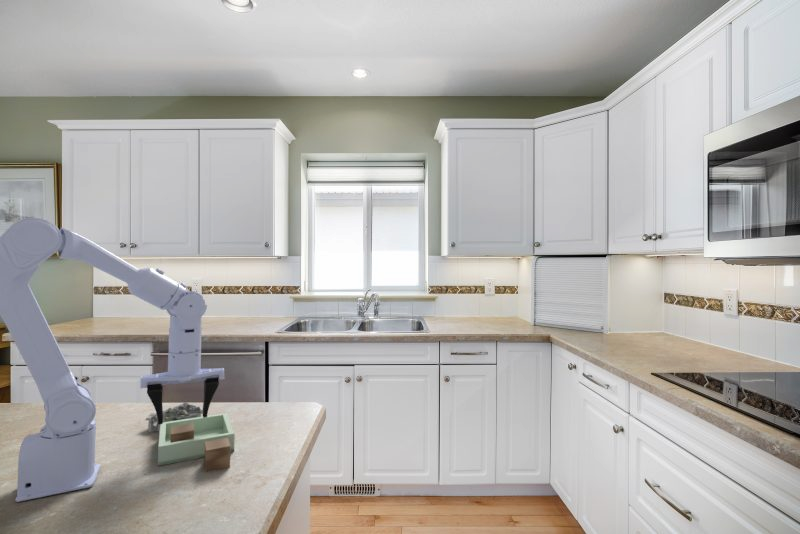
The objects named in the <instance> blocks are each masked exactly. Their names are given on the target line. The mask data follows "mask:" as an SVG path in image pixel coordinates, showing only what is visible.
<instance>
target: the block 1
mask: <svg viewBox="0 0 800 534" xmlns="http://www.w3.org/2000/svg"><path fill="white" fill-rule="evenodd" d="M189 439H194V424H187V425H181V426H174V427H171V437H170V443H172V442H178V441H183V440H189Z"/></svg>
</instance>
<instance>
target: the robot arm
mask: <svg viewBox="0 0 800 534" xmlns="http://www.w3.org/2000/svg"><path fill="white" fill-rule="evenodd" d="M57 252H58V253H59V255H58V257H57V258H58V259H64V260H65V259H66V260H72V261H73V260H74V261H75V260H76V261H82V262H83V263H86V264H88V265H90V267H91V266H92V267H94V268H96V269H98V270H99V271H102V272H103V273H106V274H108V275H110V276H112V277H113V278H116V279H118V280H120V281H122V282H123V283H124V282H125V283H126V284H127V287H128V291H129V293H130V294H131V295H132V296H133V297H134V296H135V297H136V298H139V299H140V300H143V301H144V302H146V303H148V304H150V305H152V306H154V307H156V308H158V309H159V310H163V311H164V310H165V311H166V313H167V314H169V329H168V354H167V355H168V356H167V357H168V358H167V371H165V372H160V373H154V374H146V375H141V376H140V389H146V394H147V396H148V398H149V399H150V401H151V403H152V406H153V407H154V410H155V413H157V417H158V424H163V411H164V409H163V394H164V393H163V391H164V390H163V389H164V388H163V387H164V386H166V385H174V384H176V385H177V384H184V383H193V382H202V381H203V401H202V410H203V412H202V417H203V418H205V417H207V416H208V412H209V408H210V406H211V401H212V399H213V397H214V395H215V393H216V391H217V390H218V387H219V385H220V381H221V380H225V368H224V367H221V368H220V367H218V368H216V367H215V368H201V363H202V361H201V360H202V356H201V355H202V333H203V332H202V318H203V316H204V315H205V314H206V311H207V307H208V305H207V304H206V302H205V299H204V297H203V296H202V295H201V293H198V292H196V291H191V290H189V289H187V287H188V285H187V284H185V283H183V282H180V283H179V282H177V281H175V280H173V279H171V278H170V277H168V276H166V275H164V274H165V271H164V270H162V269H161V268H156V269H154V268H151V267H144V268H137V267H136V266H134V265H132V264H131V263H129V262H127V261H125V260H124V259H122V258H121V257H119V256H117V255H115V254H114V253H112V252H110V251H108V250H107V249H105V247H104V248H103V247H101V245H98V244H97V243H95V242H94V241H92V240H90V239H88V238H86V237H85V236H82V235H80V234H78V233H76V232H73V231H72V230H70V229H66V228H63V227H60V229H59V228H58V226H56V225H55V224H54V223H53V222H51V221H49V220H48V219H47V220H46V219H43V218H39V217H26V218H22V219H19V220H16V222H14V223H12V224H11V225H10V226H9V227H8V228H7V229H6V230H5V231H4V233H2V234H1V236H0V317H1V318H2V321H3V322H4V324H5V327H6V329H8V333H9V334H10V336H11V338H12V339H13V342H14V343H15V346H16V347H17V349H18V351H19V354H20V356H22V357H21V358H22V359H23V361H24V363H25V365H26V367H27V368H28V370H29V373H30V374H31V376H32V379H33V380H34V382H35V384H36V386H37V389H38V391H39V395H40V397H41V399H42V402H43V410H44V411H45V414H44V415H45V417H44V422H45V424H44V426H43V427H41V428H40V431H39V432H37V433H36V432H35V433H32V434H28V435H25V436H24V437H23V440H22V442H21V444H20V447H19V448H20V449H19V453H18V461H17V462H18V463H17V464H18V465H17V486H16V488H17V490H16V491H17V492H16V497H15V502H18V503H19V502H24V501H28V500H33V499H40V498H43V497H48V496H53V495H58V494H64V493H68V492H73V491H77V490H82V489H83V490H84V489H88V488H92V487H93V486H94V484H95V482H96V479H97V476H98V474H99V471H100V468H101V463H95V462H96V431H97V430H96V429H97V420H95V417H96V413H97V407H96V404H95V402H94V401H93V399H92V398H91V397H92V395H91V392H90V390H89V389H88V388H87V387H86V386H84V385H83V384H81V383H80V382H78V381H77V379H76V378H75V375H74V373H73V372H72V370H71V368H70V366H69V364H68V363H67V360H66V358H65V356H64V354H63V352H62V349H61V348H60V346H59V344H58V341H57V340H56V337H55V336H54V334H53V332H52V330H51V327H50V325H49V323H48V321H47V319H46V317H45V316H44V313H43V312H42V309H41V307H40V305H39V303H38V301H37V299H36V297H35V294H34V293H33V291H32V289H31V286H30V284H29V281H30V280H31V278H32V277H33V276H34V274H35V272H36V271H37V270H38V269H39V266H40V265H41V264H43V262H45V261H46V260H48V259H49V258H50V257H51V256H53V255H54V254H55V253H57ZM219 380H220V381H219Z"/></svg>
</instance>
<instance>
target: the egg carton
mask: <svg viewBox="0 0 800 534" xmlns="http://www.w3.org/2000/svg"><path fill="white" fill-rule="evenodd" d="M202 415H203V409H201V407H200V406H196V405H193V404H190V403H189V402H187V401H185V402H182V404H179V405H176V406H174V407H169V408H168V409H166V410H163V422H170V421H176V420H183V419H190V418H196V417H202ZM145 421H148V426H147V429H148V432H149V433H152V432H158V435H160V425H161V424H158V417H157V413H156V412H153V413H150V414H149V415H147V417H146V418H145Z"/></svg>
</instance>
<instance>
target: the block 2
mask: <svg viewBox="0 0 800 534" xmlns="http://www.w3.org/2000/svg"><path fill="white" fill-rule="evenodd" d="M203 458H204V459H203V460H204V461H203V463H204V470H205V471H204V472H205V473H211V472H214V471H219V470H224V469H228V468H231V452H230V443H229V439H228V438H224V439H219V440H213V441H207V442H205V456H204V457H203Z"/></svg>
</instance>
